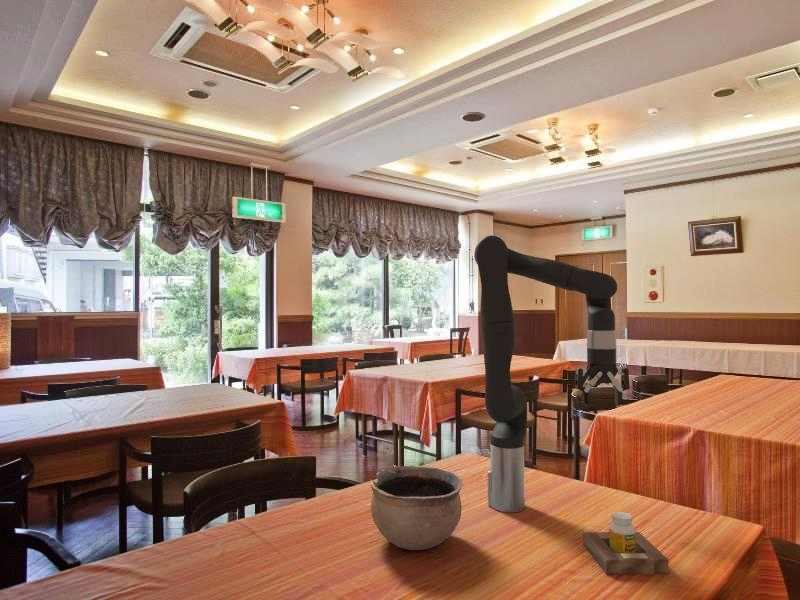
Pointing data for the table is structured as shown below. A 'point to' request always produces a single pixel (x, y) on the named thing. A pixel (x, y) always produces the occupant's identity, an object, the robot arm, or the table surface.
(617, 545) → the supplement bottle
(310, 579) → the table surface
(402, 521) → the ceramic bowl
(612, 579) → the table surface
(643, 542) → the socket holder
